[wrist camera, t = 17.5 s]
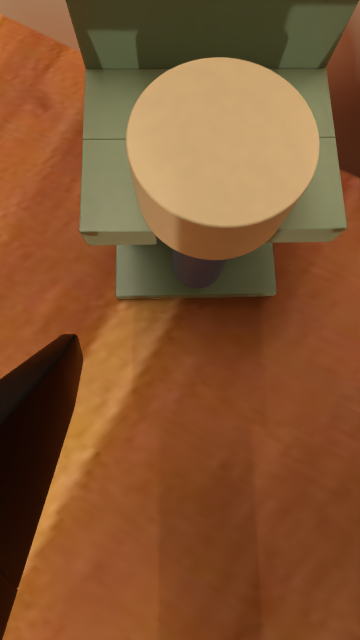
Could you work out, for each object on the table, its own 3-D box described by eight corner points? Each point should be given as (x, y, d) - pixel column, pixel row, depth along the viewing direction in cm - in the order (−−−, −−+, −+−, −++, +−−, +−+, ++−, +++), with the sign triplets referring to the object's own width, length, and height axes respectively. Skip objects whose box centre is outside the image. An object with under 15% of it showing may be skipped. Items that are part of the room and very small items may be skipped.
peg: (211, 325, 18) (259, 265, 8) (134, 277, 19) (85, 161, 8) (258, 252, 19) (354, 112, 9) (183, 207, 20) (192, 26, 9)
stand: (273, 296, 21) (430, 175, 8) (117, 299, 21) (23, 179, 8) (264, 191, 22) (385, -53, 9) (119, 193, 22) (41, -55, 9)
